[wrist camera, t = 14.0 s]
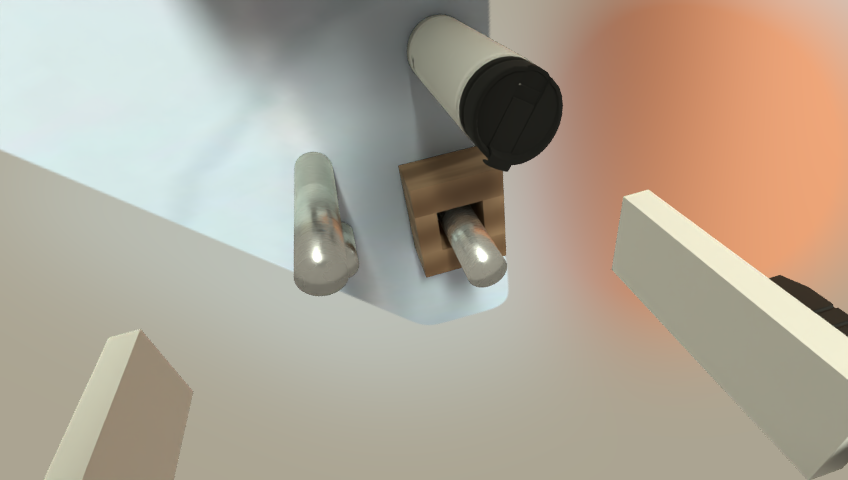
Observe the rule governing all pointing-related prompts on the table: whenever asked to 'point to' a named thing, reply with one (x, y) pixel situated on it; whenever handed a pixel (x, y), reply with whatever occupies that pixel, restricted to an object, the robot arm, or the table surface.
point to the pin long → (317, 228)
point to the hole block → (451, 202)
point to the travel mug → (486, 90)
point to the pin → (473, 246)
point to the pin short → (350, 249)
